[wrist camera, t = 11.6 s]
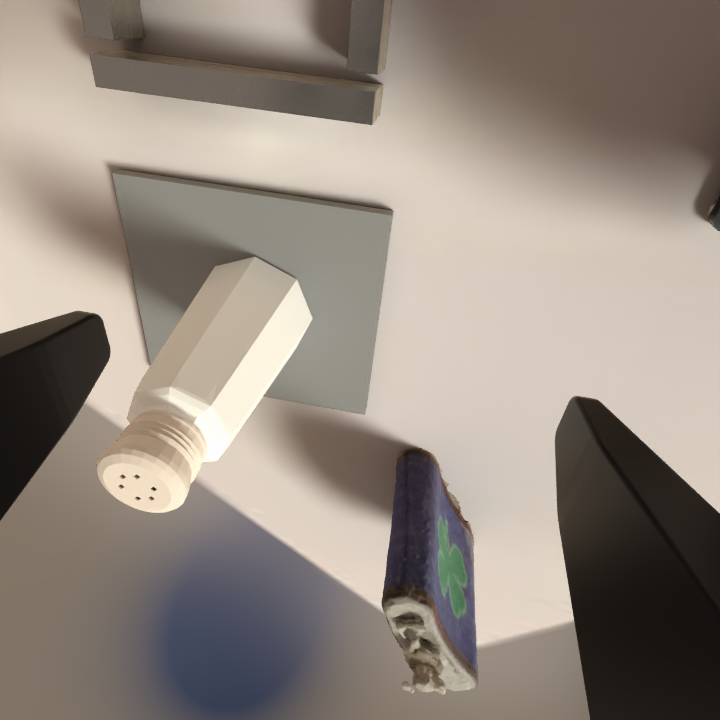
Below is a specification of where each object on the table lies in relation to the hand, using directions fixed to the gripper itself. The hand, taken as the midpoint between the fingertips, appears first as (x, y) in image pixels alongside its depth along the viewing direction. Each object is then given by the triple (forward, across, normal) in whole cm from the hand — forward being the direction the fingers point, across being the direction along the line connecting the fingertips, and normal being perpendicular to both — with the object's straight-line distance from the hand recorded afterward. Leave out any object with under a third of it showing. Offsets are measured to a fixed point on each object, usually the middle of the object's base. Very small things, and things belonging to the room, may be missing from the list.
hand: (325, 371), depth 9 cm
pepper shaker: (+12, +6, +7) cm, 15 cm away
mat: (+13, +6, +7) cm, 16 cm away
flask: (+13, -5, +19) cm, 23 cm away
